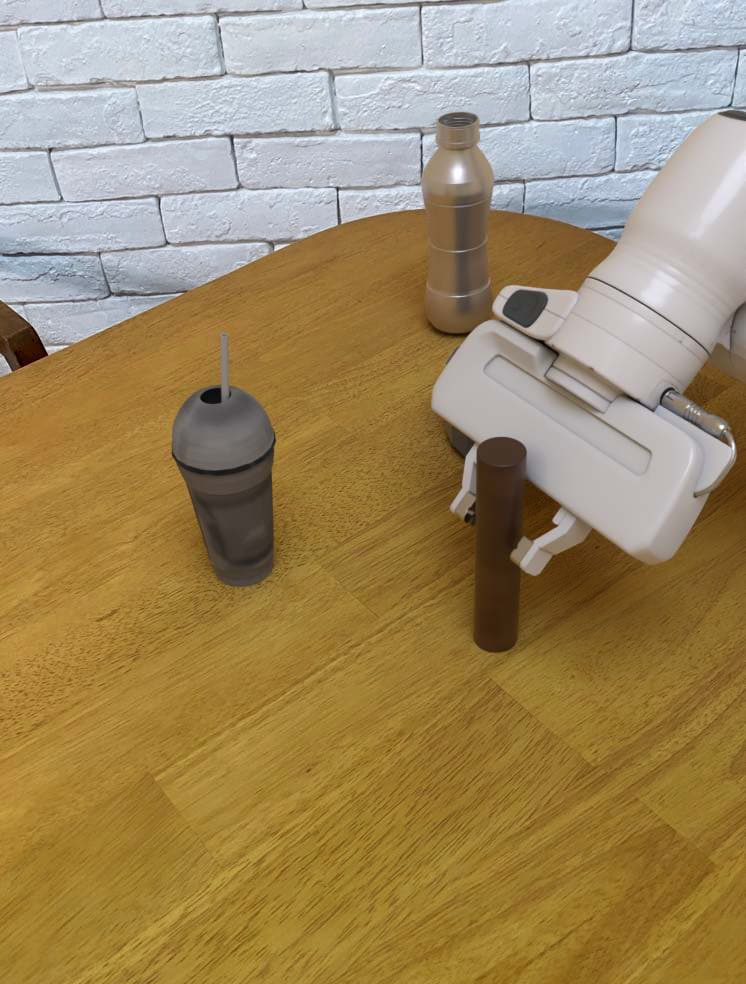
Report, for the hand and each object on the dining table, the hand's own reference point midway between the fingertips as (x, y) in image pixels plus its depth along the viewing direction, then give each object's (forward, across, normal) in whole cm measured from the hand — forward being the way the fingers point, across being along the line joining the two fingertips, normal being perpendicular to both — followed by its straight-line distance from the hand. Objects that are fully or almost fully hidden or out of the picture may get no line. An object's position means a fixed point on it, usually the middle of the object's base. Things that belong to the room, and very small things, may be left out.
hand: (491, 543), depth 72 cm
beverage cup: (+13, +17, 0) cm, 22 cm away
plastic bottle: (-11, +35, -24) cm, 43 cm away
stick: (+6, 0, -7) cm, 9 cm away
